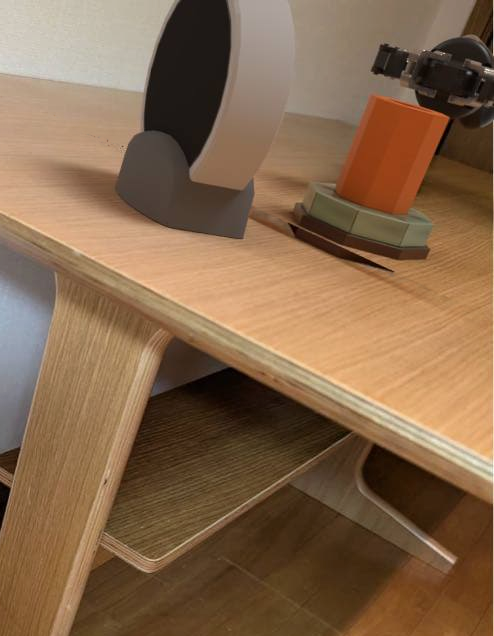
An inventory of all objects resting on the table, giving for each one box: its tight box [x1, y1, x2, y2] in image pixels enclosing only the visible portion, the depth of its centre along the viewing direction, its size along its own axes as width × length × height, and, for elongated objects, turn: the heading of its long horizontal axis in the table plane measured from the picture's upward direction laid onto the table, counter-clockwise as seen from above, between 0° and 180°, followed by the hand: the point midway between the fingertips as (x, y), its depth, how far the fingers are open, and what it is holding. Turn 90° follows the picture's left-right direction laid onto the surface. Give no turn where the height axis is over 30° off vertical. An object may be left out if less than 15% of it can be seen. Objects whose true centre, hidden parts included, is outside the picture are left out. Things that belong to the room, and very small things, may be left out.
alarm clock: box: [115, 0, 296, 240], centre depth 66 cm, size 16×10×18 cm, turn 18°
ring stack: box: [288, 181, 435, 273], centre depth 75 cm, size 12×12×4 cm
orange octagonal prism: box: [335, 93, 450, 214], centre depth 71 cm, size 6×6×8 cm
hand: (439, 76), depth 76 cm, fingers open, 8 cm apart
